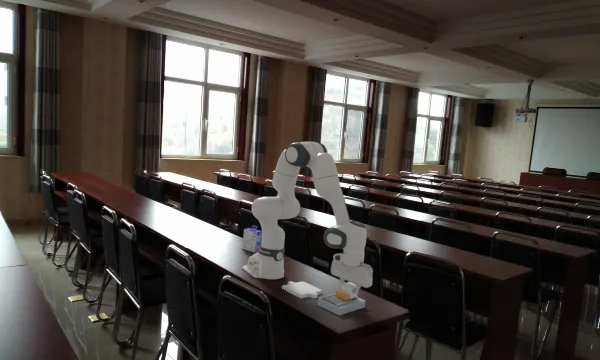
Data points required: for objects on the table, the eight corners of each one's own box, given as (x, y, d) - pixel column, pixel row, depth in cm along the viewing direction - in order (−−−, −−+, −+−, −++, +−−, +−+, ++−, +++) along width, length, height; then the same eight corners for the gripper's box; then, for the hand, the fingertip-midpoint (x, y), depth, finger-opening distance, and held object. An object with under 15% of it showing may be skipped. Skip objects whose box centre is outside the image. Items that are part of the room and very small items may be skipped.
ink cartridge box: (260, 251, 254) (263, 227, 253) (255, 253, 249) (257, 228, 248) (247, 247, 259) (249, 223, 258) (241, 249, 254) (244, 225, 253)
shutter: (323, 299, 180) (324, 292, 180) (336, 296, 186) (337, 289, 185) (336, 305, 175) (337, 298, 175) (349, 301, 180) (350, 295, 180)
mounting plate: (278, 287, 198) (278, 283, 198) (299, 283, 207) (299, 279, 207) (305, 301, 185) (305, 297, 185) (326, 296, 194) (326, 292, 194)
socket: (317, 305, 181) (318, 296, 181) (342, 297, 193) (343, 289, 193) (339, 315, 173) (340, 306, 173) (364, 307, 185) (365, 298, 184)
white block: (340, 298, 186) (342, 283, 185) (347, 296, 189) (349, 281, 189) (349, 302, 182) (351, 287, 182) (356, 300, 186) (358, 285, 185)
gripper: (377, 265, 179) (373, 297, 180) (340, 252, 193) (336, 282, 195) (368, 267, 174) (364, 300, 176) (330, 254, 189) (327, 284, 190)
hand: (349, 291), depth 185 cm, fingers closed on white block, 5 cm apart
